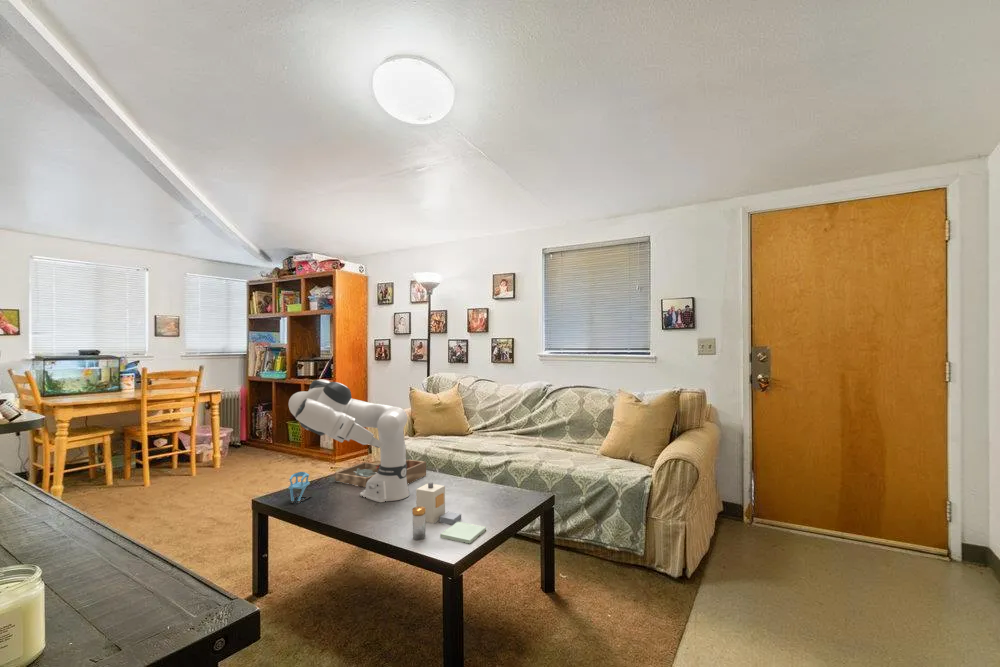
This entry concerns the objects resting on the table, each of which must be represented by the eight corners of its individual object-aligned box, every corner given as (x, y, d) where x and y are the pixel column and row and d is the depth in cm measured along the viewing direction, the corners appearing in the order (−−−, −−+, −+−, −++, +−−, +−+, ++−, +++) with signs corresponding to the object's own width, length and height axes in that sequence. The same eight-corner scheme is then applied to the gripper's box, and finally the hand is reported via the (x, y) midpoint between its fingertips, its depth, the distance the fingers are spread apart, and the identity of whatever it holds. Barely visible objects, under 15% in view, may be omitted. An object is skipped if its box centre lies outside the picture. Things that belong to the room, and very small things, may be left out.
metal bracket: (364, 472, 220) (350, 466, 231) (360, 485, 219) (347, 478, 230) (389, 475, 229) (375, 469, 240) (386, 487, 228) (372, 480, 239)
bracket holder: (385, 482, 222) (384, 468, 222) (408, 472, 238) (408, 459, 238) (403, 486, 217) (403, 471, 217) (426, 475, 233) (426, 461, 233)
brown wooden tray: (334, 482, 224) (334, 472, 224) (364, 470, 243) (364, 462, 243) (367, 488, 214) (367, 478, 214) (396, 475, 233) (396, 466, 234)
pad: (440, 537, 160) (440, 534, 160) (457, 524, 171) (457, 521, 171) (469, 543, 155) (469, 540, 155) (486, 530, 166) (485, 527, 166)
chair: (285, 504, 194) (285, 476, 195) (295, 497, 203) (295, 470, 203) (303, 504, 194) (302, 476, 194) (312, 497, 202) (312, 470, 202)
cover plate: (439, 523, 173) (439, 516, 173) (448, 517, 179) (448, 511, 179) (453, 526, 171) (453, 519, 171) (461, 520, 176) (461, 513, 176)
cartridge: (409, 538, 159) (409, 509, 160) (417, 533, 164) (417, 505, 164) (420, 540, 157) (420, 512, 158) (428, 535, 162) (428, 507, 162)
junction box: (416, 520, 176) (416, 484, 176) (428, 512, 183) (428, 479, 183) (434, 523, 172) (434, 487, 172) (445, 516, 179) (445, 481, 179)
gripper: (339, 437, 160) (374, 454, 163) (340, 436, 141) (380, 455, 144) (348, 421, 162) (383, 438, 165) (350, 417, 144) (389, 436, 146)
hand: (381, 445), depth 155 cm, fingers open, 8 cm apart
